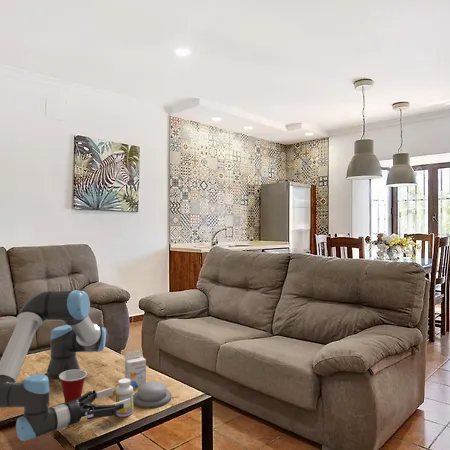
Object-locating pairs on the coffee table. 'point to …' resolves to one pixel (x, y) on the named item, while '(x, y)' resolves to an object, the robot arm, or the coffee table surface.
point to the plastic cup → (72, 384)
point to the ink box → (135, 368)
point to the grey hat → (151, 395)
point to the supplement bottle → (124, 396)
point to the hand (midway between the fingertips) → (120, 396)
